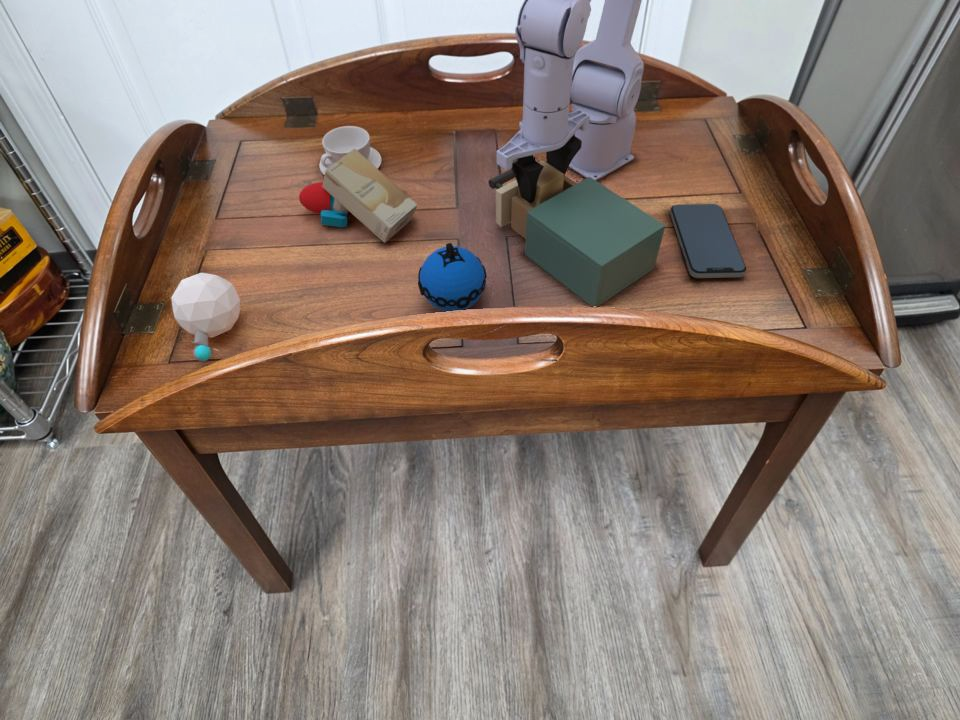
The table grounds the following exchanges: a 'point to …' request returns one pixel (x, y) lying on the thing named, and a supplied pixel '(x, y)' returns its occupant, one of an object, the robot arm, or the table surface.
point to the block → (546, 185)
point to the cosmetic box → (369, 195)
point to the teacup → (347, 146)
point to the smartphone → (707, 241)
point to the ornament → (452, 278)
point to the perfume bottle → (205, 309)
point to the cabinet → (592, 240)
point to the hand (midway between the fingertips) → (540, 191)
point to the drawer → (513, 202)
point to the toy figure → (323, 205)
